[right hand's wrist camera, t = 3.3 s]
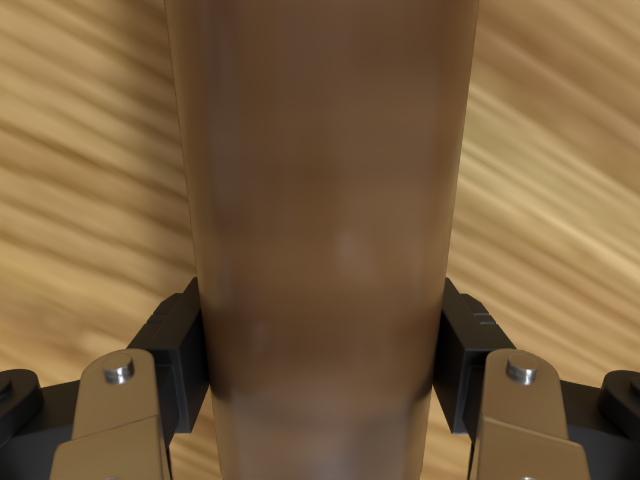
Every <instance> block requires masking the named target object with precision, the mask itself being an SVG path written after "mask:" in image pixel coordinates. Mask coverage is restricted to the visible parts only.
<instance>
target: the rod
mask: <svg viewBox="0 0 640 480" xmlns="http://www.w3.org/2000/svg"><path fill="white" fill-rule="evenodd" d="M164 2H165V11H166V19H167V27H168V36H169V44H170V53H171V61H172V69H173V78H174V86H175V95H176V103H177V111H178V120H179V128H180V137H181V145H182V153H183V162H184V170H185V178H186V187H187V195H188V204H189V212H190V220H191V229H192V237H193V246H194V254H195V262H196V271H197V279H198V288H199V296H200V304H201V313H202V321H203V329H204V338H205V346H206V355H207V363H208V371H209V380H210V388H211V397H212V405H213V413H214V422H215V430H216V439H217V447H218V455H219V464H220V471H221V474H222V478H223V480H419V478H420V475H421V471H422V465H423V457H424V449H425V440H426V432H427V424H428V416H429V408H430V400H431V391H432V383H433V375H434V367H435V359H436V351H437V342H438V334H439V326H440V318H441V310H442V302H443V293H444V285H445V277H446V269H447V261H448V253H449V244H450V236H451V228H452V220H453V212H454V204H455V195H456V187H457V179H458V171H459V163H460V155H461V146H462V138H463V130H464V122H465V114H466V106H467V97H468V89H469V81H470V73H471V65H472V57H473V49H474V40H475V32H476V24H477V16H478V8H479V0H164Z"/></svg>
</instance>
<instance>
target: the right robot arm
mask: <svg viewBox="0 0 640 480" xmlns="http://www.w3.org/2000/svg"><path fill="white" fill-rule="evenodd" d="M209 384H210V380H209V371H208V363H207V355H206V346H205V338H204V329H203V321H202V313H201V304H200V296H199V288H198V279H197V277H194V278H193V279H192V281H191V282H190V284H189V285H188V286H187V288H186V289H185V291H184V292H183V293H175V294H173V295H172V296H170V297H169V298H167V299H166V300H164V301H162V302H161V303H160V305H159V306H158V307H157V309H156V310H155V311H154V313H153V315H151V316H150V318H149V319H148V320H147V324H144V326H143V327H142V328H141V330H140V331H139V332H138V334H137V335H136V336H135V337H134V339H133V340H132V341H131V343H130V344H129V345H128V347H127V348H126V349H123V350H118V351H114V352H111V353H108V354H106V355H104V356H102V357H100V358H98V359H96V360H95V361H93V362H92V363H91V364H90V365H88V366H87V367H86V369H85V370H84V371H83V373H82V375H81V379H80V380H77V381H73V382H68V383H63V384H58V385H53V386H48V387H43V388H41V387H40V384H39V380H38V377H37V375H36V374H35V373H34V372H33V371H30V370H26V369H13V370H6V371H2V372H0V480H174V477H173V469H172V461H171V454H170V448H169V445H170V443H171V440H172V438H173V435H174V433H191V432H192V429H193V427H194V424H195V421H196V419H197V416H198V413H199V411H200V408H201V406H202V403H203V400H204V398H205V395H206V392H207V390H208V387H209ZM432 384H433V387H434V389H435V392H436V394H437V397H438V400H439V402H440V405H441V407H442V410H443V413H444V415H445V418H446V420H447V423H448V426H449V428H450V431H451V433H452V434H469V436H470V439H471V441H472V442H471V448H470V454H469V461H468V469H467V477H466V480H640V373H639V372H634V371H627V370H616V371H612V372H609V373H608V374H606V375H605V377H604V380H603V383H602V387H601V388H596V387H591V386H586V385H581V384H576V383H572V382H567V381H563V380H560V379H559V375H558V373H557V371H556V370H555V369H554V367H553V366H552V365H550V364H549V363H548V362H547V361H545V360H544V359H542V358H540V357H538V356H536V355H534V354H532V353H529V352H526V351H522V350H517V349H516V347H515V346H514V345H513V343H512V342H511V341H510V340H509V338H508V337H507V336H506V334H505V333H504V332H503V330H502V329H501V328H500V327H499V325H498V324H496V321H495V320H494V319H493V318H492V316H491V315H489V312H488V311H487V310H486V308H485V307H484V306H483V305H482V303H481V302H479V301H478V300H476V299H474V298H473V297H471V296H470V295H468V294H459V292H458V291H457V289H456V288H455V286H454V285H453V284H452V282H451V281H450V279H449V278H448V277H445V285H444V293H443V302H442V310H441V318H440V326H439V334H438V342H437V351H436V359H435V367H434V375H433V383H432Z"/></svg>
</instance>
